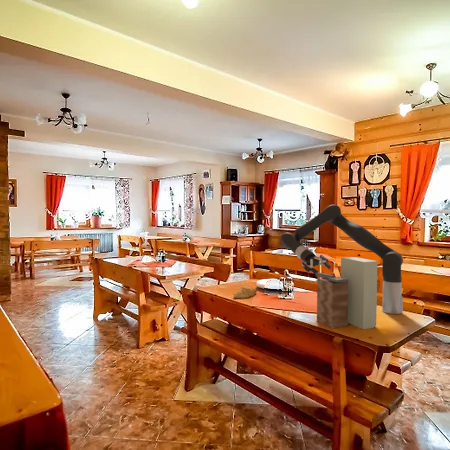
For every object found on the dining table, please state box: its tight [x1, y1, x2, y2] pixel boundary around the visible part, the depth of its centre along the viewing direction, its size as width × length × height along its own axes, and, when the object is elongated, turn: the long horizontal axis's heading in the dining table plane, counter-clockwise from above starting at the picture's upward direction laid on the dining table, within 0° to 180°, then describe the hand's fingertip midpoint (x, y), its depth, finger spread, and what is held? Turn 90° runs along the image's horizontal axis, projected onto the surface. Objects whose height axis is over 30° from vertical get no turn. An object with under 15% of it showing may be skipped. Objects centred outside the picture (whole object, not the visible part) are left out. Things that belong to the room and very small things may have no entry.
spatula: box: [315, 271, 349, 283], centre depth 166 cm, size 22×6×2 cm, turn 16°
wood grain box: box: [316, 277, 349, 329], centre depth 165 cm, size 12×9×22 cm
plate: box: [256, 278, 295, 289], centre depth 240 cm, size 28×6×27 cm
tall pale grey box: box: [340, 256, 378, 330], centre depth 165 cm, size 16×8×32 cm, turn 21°
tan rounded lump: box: [233, 285, 258, 299], centre depth 218 cm, size 21×10×8 cm, turn 133°
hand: (323, 270), depth 179 cm, fingers open, 8 cm apart
